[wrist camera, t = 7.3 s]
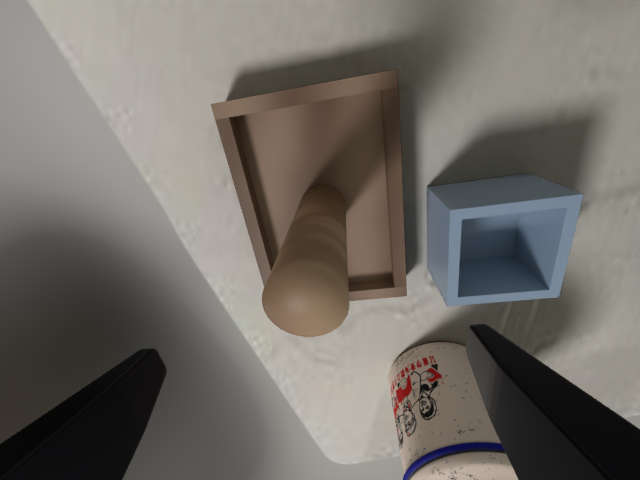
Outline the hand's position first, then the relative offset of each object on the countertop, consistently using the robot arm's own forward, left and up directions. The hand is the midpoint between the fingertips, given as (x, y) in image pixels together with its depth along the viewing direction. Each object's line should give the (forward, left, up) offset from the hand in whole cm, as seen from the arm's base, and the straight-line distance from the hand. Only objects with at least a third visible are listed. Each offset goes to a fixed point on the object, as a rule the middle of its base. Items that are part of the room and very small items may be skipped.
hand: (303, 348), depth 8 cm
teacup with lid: (-7, +19, -13) cm, 24 cm away
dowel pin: (0, 0, -12) cm, 12 cm away
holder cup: (-10, +3, -13) cm, 16 cm away
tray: (0, 0, -13) cm, 13 cm away
